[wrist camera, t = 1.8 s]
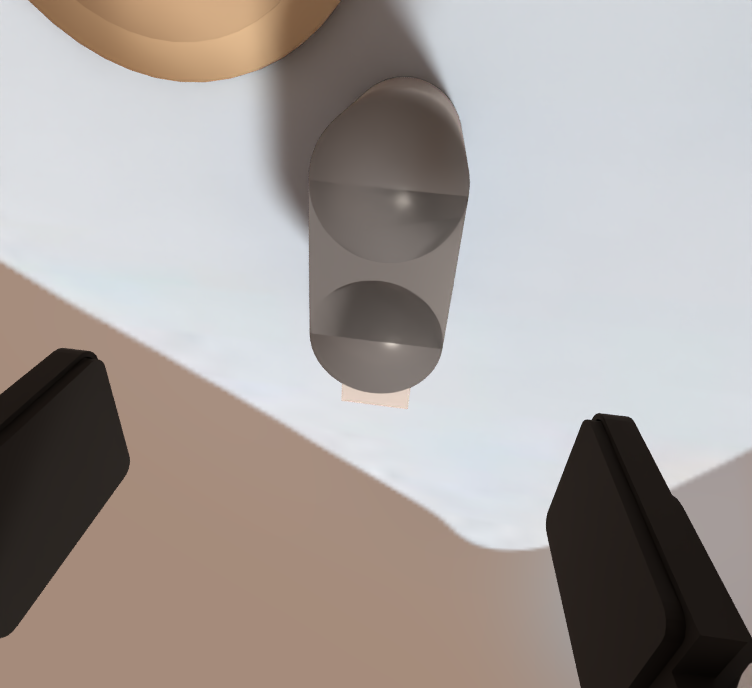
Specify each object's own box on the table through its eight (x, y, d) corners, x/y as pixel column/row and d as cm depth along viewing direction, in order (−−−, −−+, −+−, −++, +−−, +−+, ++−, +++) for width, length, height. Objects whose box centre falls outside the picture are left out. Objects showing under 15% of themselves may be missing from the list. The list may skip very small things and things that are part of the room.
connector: (346, 71, 17) (307, 91, 12) (472, 82, 17) (484, 107, 12) (338, 349, 24) (310, 436, 19) (428, 360, 24) (424, 451, 19)
